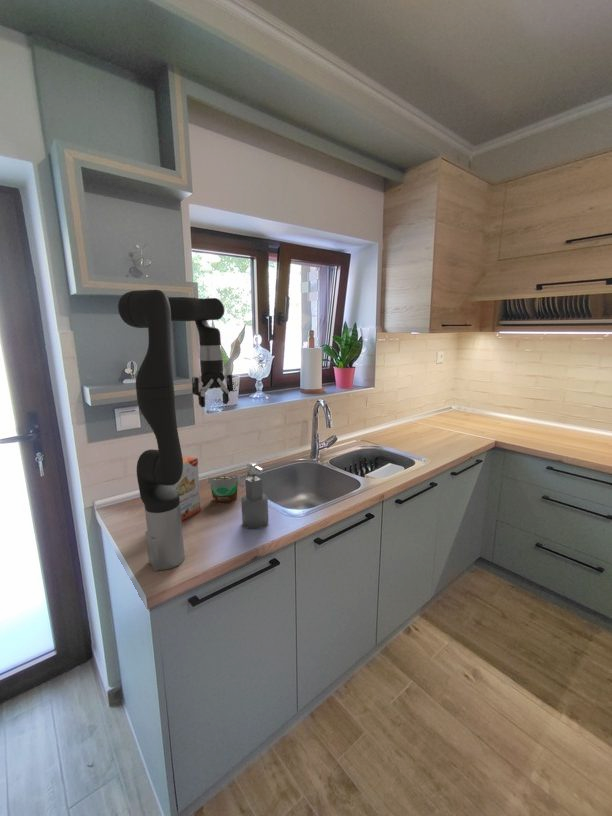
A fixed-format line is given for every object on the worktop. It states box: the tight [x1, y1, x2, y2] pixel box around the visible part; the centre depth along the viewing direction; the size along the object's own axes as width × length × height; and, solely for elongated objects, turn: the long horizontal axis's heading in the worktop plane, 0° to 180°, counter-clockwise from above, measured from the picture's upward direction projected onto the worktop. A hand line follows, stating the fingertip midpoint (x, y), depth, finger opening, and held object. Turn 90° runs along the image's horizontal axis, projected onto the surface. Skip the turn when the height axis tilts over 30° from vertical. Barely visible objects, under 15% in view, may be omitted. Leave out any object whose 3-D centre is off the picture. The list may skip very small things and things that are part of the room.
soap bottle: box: [240, 476, 269, 530], centre depth 125 cm, size 9×9×16 cm
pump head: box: [246, 462, 264, 480], centre depth 122 cm, size 4×7×12 cm, turn 40°
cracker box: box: [168, 455, 201, 522], centre depth 129 cm, size 14×6×21 cm, turn 151°
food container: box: [207, 474, 241, 505], centre depth 142 cm, size 12×6×10 cm, turn 106°
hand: (214, 405), depth 128 cm, fingers open, 8 cm apart
